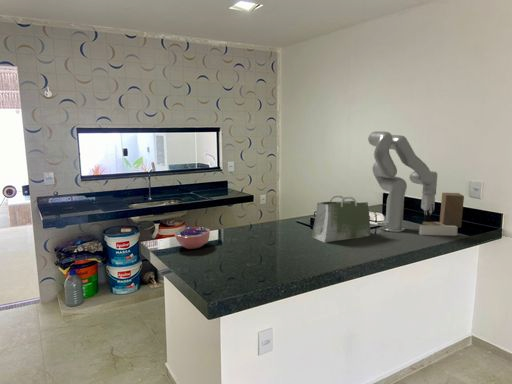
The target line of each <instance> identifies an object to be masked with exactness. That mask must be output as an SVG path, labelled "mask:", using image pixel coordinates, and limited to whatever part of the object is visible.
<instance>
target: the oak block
mask: <svg viewBox="0 0 512 384" xmlns="http://www.w3.org/2000/svg"><path fill="white" fill-rule="evenodd" d="M421 225H442V226H446V225H444V224H442V223H440V221H430V222H426V221H422V223H421Z"/></svg>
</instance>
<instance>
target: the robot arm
mask: <svg viewBox="0 0 512 384" xmlns="http://www.w3.org/2000/svg"><path fill="white" fill-rule="evenodd" d="M367 139H368V143H369V145H371V146H373V147H375V148H374V150H373V151H374V152H373V156H374V160H375V162H374V163H373V165H372V173H373V176H374V177H375V179H376V181H377V184H378V185H379V187H380V188H381V189H382V190H383V191H386V192H388V195H387V198H386V208H385V211H386V212H385V220H384V221H382V222H381V221H379V222H376V225H377V226H380V227H382V230H384V231H387V232H392V233H401V232H404V231H405V230H406V229H405V227H403V223H404V222H403V221H404V220H403V219H404V207H405V206H404V205H405V203H404V202H405V195H406V193H407V191H406V190H407V187H408V185H407V181H406V180H405V179H404V178H401V177H400V176H396V175H397V174H398V170H397V166H396V164H395V163H394V160H393V159H392V156H391V153H390V150H394V151H395V152H396V155H397V156H398V157H399V160H400V161H401V163H402V164H403V165H405V166H407V167H408V168H410V169H412V170H413V171H412V172H411V173H410V174H409V181H410V182H411V183H413V184H415V185H421V186H422V196H421V202H420V203H421V204H420V209H422V210H423V214H424V216H423V222H431V216H432V213H433V212H434V211H435V207H436V206H435V204H436V197H435V196H436V195H437V186H438V172H437V171H433V170H432V171H431V170H430V168H429V167H428V166H427V164H426V163H425V161H423V160H422V159H421V158H419V157H418V156H417V155H416V153H415V151H414V149H413V148H412V146H411V144H410V142H409V141H408V139H407V137H406V136H404V135H399V134H397V135H396V134H392V133H390V132H388V131H376V130H375V131H373V132H371V133H369V135H368V138H367Z"/></svg>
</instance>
